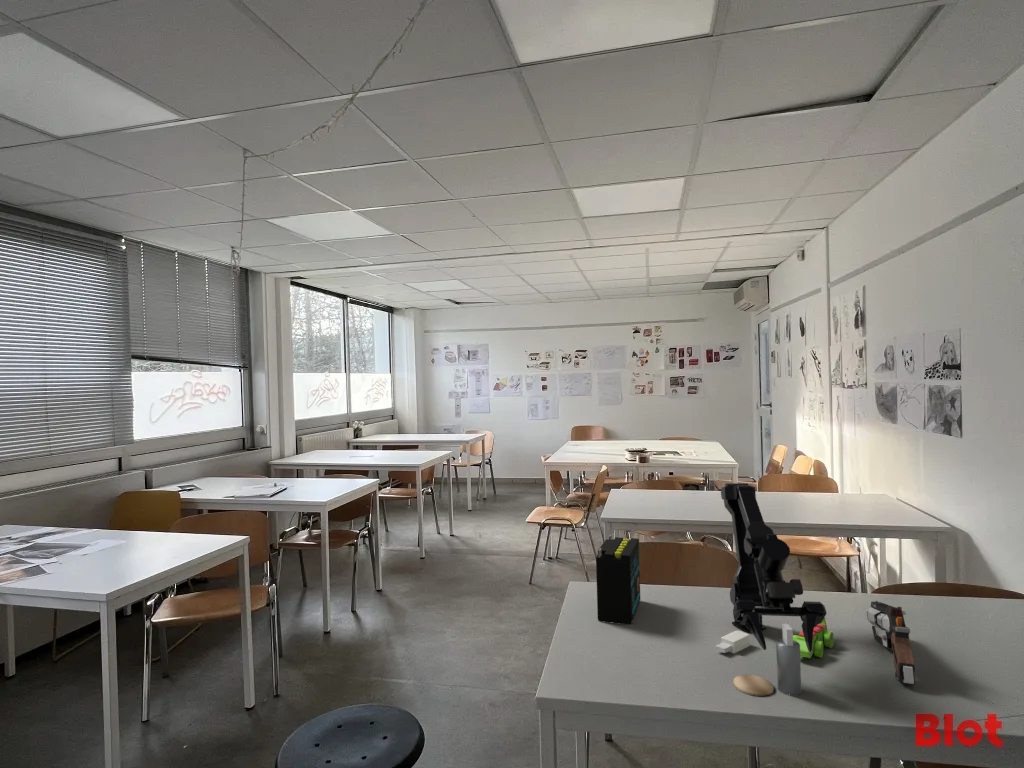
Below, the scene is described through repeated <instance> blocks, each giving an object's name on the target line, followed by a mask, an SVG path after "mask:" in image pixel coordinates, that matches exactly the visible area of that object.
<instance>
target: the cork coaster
mask: <svg viewBox="0 0 1024 768" xmlns="http://www.w3.org/2000/svg"><path fill="white" fill-rule="evenodd" d="M733 686H734V687H735V689H736V690H738V691H740V692H741V693H743V694H746V695H749V696H753V695H755V696H754V697H766V695H767V696H769V695H772V694H773V693H774V691H773V690H774V689H775V688H774V685H773V683H772V682H771V681H770V680H769V679H767V678H765V677H763V676H758V675H754V674H753V675H752V674H741V675H737V676H735V677H734V678H733Z"/></svg>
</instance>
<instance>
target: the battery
mask: <svg viewBox="0 0 1024 768" xmlns="http://www.w3.org/2000/svg"><path fill="white" fill-rule="evenodd" d="M595 564H596V565H595V568H596V569H595V572H596V577H595V578H596V602H597V603H596V604H597V606H596V607H597V620H598V622H601V621H605V622H604V623H609V622H613V623H612V624H618V623H620V624H619V625H632V623H633V622H634V621H633V620H634V618H635V615H636V613H637V609H638V608H639V604H640V601H641V576H640V573H641V572H640V571H641V570H640V569H641V567H640V539H639V538H634V537H631V538H630V539H628V538H624V537H615V538H614V539H612V534H610V535H608V538H607V539H605V540H604V542H603V543H602V544H601V546H599V548H598V549H597V555H596V556H595Z"/></svg>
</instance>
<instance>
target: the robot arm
mask: <svg viewBox="0 0 1024 768" xmlns="http://www.w3.org/2000/svg"><path fill="white" fill-rule="evenodd" d="M720 495H721V496H720V498H721V499H722V500H723V503H724V504H723V505H724V507H725V510H727V512H729V514H730V515H731V520H732V528H733V537H734V546H735V553H736V554H735V555H736V562H737V569H736V572H735V574H734V575H733V583H732V585H731V587H730V591H729V599H730V602H731V604H732V606H733V609H732V616H733V620H734V621H732V622H731V625H733V626H735V627H737V628H739V629H740V630H742V631H743V632H745V633H751V634H752V635H753V636H754V638H755V640H756V641H757V642H758V644H759V645H760V647H761V648H762V650H763V651H767V644H766V639H765V635H764V633H763V630H767V629H768V628H767V626H766V625H764V624H763V616H770V617H771V616H776V617H777V616H778V617H799V618H800V620H801V621H802V623H801V628H802V629H801V631H802V630H803V634H804V638H805V642H806V646H807V648H808V651H809V652H811V651H812V641H813V630H814V627H816V626H817V624H820V623H822V621H823V619H824V617H825V618H826V615H827V610H826V607H825V605H824V604H823V603H822V602H821V601H808V600H806V601H805V600H804V601H803V603H802V604H801V606H800V607H799V606H791V605H792V604H793V603H794V599H796V596H802V595H804V588H803V584H802V581H801V578H800V579H797V578H792V579H790V580H789V582H788V581H787V582H786V580H784V577H783V572H782V571H783V570H785V567H786V564H787V562H788V560H789V557H790V553H791V549H790V546H789V545H788V544H787V542H785V541H784V540H782V539H780V538H779V537H778V536H777V534H775V533H774V530H773V528H771V527H769V526H768V525H767V524H765V520H764V519H763V515H762V512H761V509H760V507H759V506H760V505H759V503H758V500H757V494H756V486H754V485H753V486H752V485H750V484H749V483H747V482H746V483H745V482H744V483H743V482H741V483H740V482H737V483H735V482H732V483H730V482H729V483H727V482H726V483H725V484H724V486H723V487H721V488H720ZM757 558H758V559H757ZM755 559H756V561H755Z"/></svg>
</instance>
